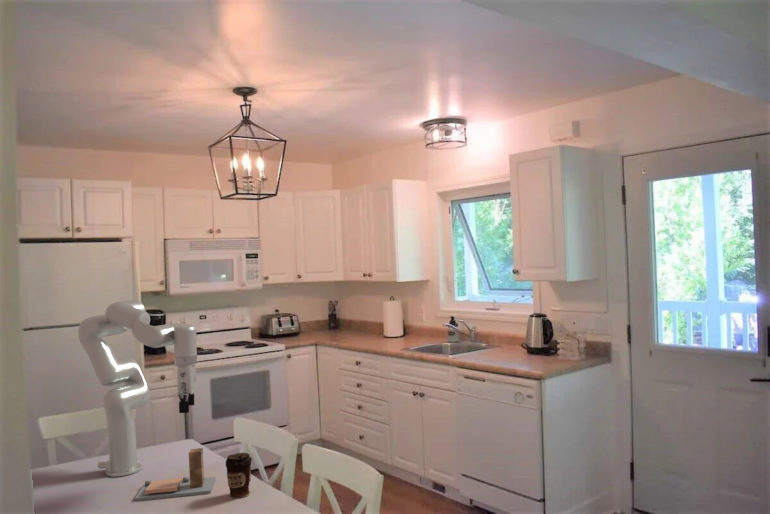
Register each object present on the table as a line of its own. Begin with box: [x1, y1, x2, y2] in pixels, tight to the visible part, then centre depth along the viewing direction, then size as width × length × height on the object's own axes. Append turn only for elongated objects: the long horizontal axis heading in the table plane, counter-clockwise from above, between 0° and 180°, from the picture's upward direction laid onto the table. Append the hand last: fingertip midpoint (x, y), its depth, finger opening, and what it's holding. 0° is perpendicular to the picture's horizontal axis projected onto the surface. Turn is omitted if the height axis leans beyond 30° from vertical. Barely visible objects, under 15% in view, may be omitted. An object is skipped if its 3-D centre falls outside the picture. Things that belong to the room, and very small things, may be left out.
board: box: [134, 476, 217, 502], centre depth 210 cm, size 24×13×2 cm, turn 98°
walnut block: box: [188, 447, 205, 488], centre depth 210 cm, size 4×4×12 cm
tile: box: [145, 477, 183, 494], centre depth 209 cm, size 10×10×1 cm
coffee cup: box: [225, 452, 253, 499], centre depth 202 cm, size 9×8×13 cm
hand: (187, 408), depth 217 cm, fingers open, 9 cm apart
